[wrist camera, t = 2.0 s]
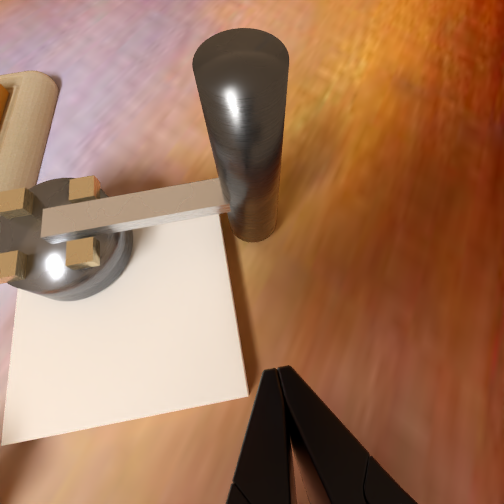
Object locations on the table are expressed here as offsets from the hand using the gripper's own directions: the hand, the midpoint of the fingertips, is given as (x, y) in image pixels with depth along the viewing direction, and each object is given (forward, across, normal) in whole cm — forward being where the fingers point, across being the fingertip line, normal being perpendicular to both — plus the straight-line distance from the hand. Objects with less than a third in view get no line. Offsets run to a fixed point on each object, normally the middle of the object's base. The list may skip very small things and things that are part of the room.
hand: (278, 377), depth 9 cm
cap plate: (+13, +9, +4) cm, 16 cm away
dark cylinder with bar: (+15, +7, 0) cm, 17 cm away
